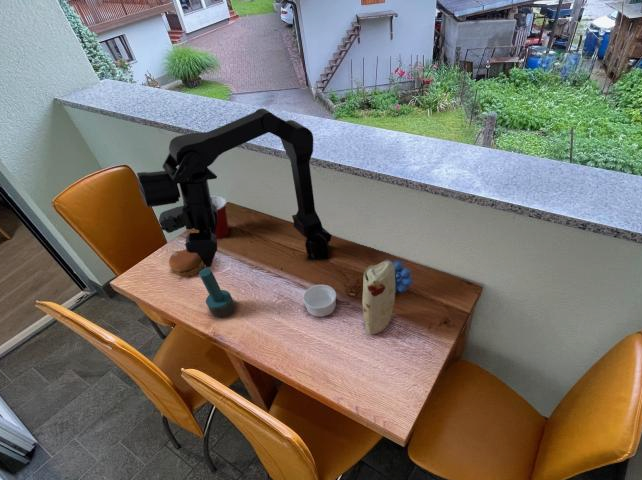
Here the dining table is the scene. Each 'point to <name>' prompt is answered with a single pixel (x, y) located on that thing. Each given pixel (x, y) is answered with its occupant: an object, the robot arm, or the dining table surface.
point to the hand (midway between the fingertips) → (208, 256)
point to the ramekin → (320, 300)
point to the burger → (185, 263)
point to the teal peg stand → (217, 296)
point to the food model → (378, 296)
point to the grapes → (401, 277)
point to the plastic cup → (220, 216)
